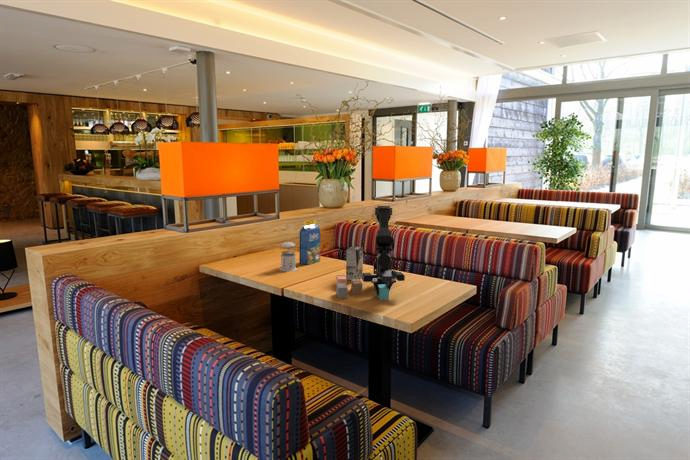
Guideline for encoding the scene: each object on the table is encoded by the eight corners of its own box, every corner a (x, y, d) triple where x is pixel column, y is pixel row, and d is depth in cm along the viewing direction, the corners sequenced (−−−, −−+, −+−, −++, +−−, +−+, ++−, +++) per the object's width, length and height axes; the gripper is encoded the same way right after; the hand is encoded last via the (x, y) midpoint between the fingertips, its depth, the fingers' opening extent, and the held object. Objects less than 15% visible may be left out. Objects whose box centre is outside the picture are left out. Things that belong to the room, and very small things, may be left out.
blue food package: (299, 263, 263) (299, 221, 259) (312, 259, 273) (312, 218, 269) (307, 265, 260) (307, 222, 255) (320, 261, 270) (320, 219, 265)
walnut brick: (351, 289, 216) (351, 279, 215) (359, 289, 217) (359, 279, 216) (353, 294, 209) (353, 283, 208) (362, 293, 210) (362, 283, 209)
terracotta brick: (336, 285, 223) (336, 275, 222) (344, 284, 223) (344, 275, 222) (338, 289, 216) (338, 279, 215) (346, 289, 217) (346, 278, 216)
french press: (293, 266, 257) (293, 222, 253) (300, 271, 247) (300, 226, 242) (277, 267, 253) (276, 223, 248) (283, 273, 242) (283, 227, 238)
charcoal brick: (336, 294, 209) (336, 283, 208) (344, 293, 209) (345, 283, 209) (338, 298, 202) (338, 288, 201) (347, 298, 203) (347, 287, 202)
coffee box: (357, 281, 229) (358, 250, 227) (345, 279, 231) (346, 249, 229) (362, 276, 238) (363, 246, 235) (351, 275, 240) (351, 245, 237)
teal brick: (376, 295, 208) (376, 284, 207) (384, 294, 208) (385, 284, 208) (379, 300, 201) (380, 289, 200) (388, 299, 202) (389, 288, 201)
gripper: (366, 266, 192) (365, 301, 195) (409, 265, 195) (407, 300, 198) (361, 260, 203) (360, 293, 206) (401, 259, 206) (400, 292, 209)
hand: (382, 295), depth 204 cm, fingers closed on teal brick, 4 cm apart
